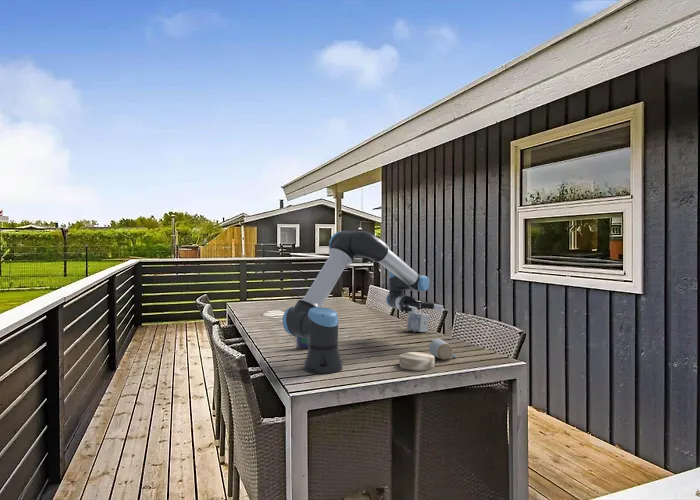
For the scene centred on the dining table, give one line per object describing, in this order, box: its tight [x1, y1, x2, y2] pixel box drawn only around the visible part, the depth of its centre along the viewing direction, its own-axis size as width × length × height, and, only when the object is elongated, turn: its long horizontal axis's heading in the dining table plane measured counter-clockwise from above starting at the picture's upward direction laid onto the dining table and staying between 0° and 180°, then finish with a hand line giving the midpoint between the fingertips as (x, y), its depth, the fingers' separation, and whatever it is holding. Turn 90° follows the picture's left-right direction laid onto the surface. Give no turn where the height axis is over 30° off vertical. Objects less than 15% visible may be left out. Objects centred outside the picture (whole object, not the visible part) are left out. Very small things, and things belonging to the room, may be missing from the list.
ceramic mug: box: [428, 338, 457, 361], centre depth 201 cm, size 11×8×8 cm
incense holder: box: [406, 312, 431, 333], centre depth 257 cm, size 10×8×10 cm
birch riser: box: [398, 351, 436, 371], centre depth 189 cm, size 14×14×4 cm
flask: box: [296, 337, 309, 350], centre depth 219 cm, size 9×3×11 cm, turn 79°
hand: (429, 309), depth 209 cm, fingers open, 13 cm apart
